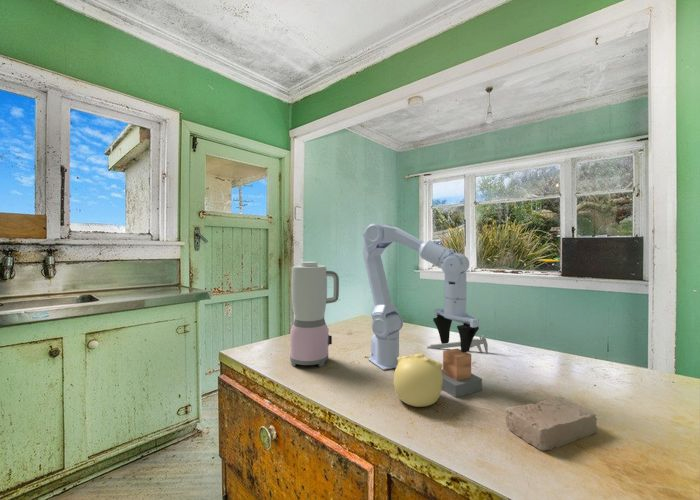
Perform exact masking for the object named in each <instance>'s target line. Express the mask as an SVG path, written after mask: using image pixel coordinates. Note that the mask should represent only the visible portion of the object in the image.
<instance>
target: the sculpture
mask: <svg viewBox="0 0 700 500" xmlns="http://www.w3.org/2000/svg"><path fill="white" fill-rule="evenodd" d="M397 361H398V365H397V367H396V368H395V369H394V373H393V378H392V379H393V381H392V382H393V387H394V392H395V394H396V396H397V397H398V399H400V401H402V402H403V403H404V404H407V405H409V406H411V407H416V408H419V407H420V408H421V407H422V408H423V407H428V406H431V405H433V404H435V403H436V402H437V401H438V399H439V398H440V396H441V393H442V383H443V377H442V369H443V363H441V362H439V361H437V360H435V359H432V358H429V357H428V356H427V355H425V354H424V353H418V352H417V353H414V354H410V355H408V354H407V355H403V356H399V357H398V358H397Z"/></svg>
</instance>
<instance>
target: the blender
mask: <svg viewBox="0 0 700 500" xmlns="http://www.w3.org/2000/svg"><path fill="white" fill-rule="evenodd" d="M289 269H290V270H291V282H290V283H291V292H290V293H291V294H290V295H291V303H292V310H293V316H294V321H293V324H292V326H291V329H290V333H289V334H290V335H289V338H290V356H289V360H290V363H291V364H290V365H291V366H292V367H294V368H295V367H297V365H301V366H315V365H318V367H319V368H321V367H324V366H325V365H326V364H325V363H326V361H327V360H328V359H329V346H330V345H332V343H333V341H332V339H333V336H332V335H330V334H329V331H330V329H329V327H328V325H327V323H326V320H325V314H326V313H325V312H326V308H327V304H331V303H332V304H333V303H336V302H337V301H338V300H339V294H340V279H339V275H338V274H337V272H335V271H333V270H332V271H331V270H327V267H326V265H320V264H319V265H318V261H302V262H301V263H300V265H294V266H290V267H289ZM328 277H331V278H333V296H332V297H328Z"/></svg>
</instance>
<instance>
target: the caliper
mask: <svg viewBox="0 0 700 500" xmlns="http://www.w3.org/2000/svg"><path fill="white" fill-rule="evenodd" d="M478 337H479V338H473V340H472V343H471V346H470V349H472V348H474V347H476V348H477V350H478V351H479V353H481V354H482V353H483V350H482V347H481V345H483V348H484V351H485V354H488V352H489V350H488V347H489V346H488V341H487V338H486V337H484V335H483V334H482V335H479V336H478ZM458 347H460V348H461V343H460V341H451V342H449V343H445V344H442V343H441V342H440V343H434V344H430V345H428V346H426V349H432V350H438V349H447V348H448V349H449V348H458Z"/></svg>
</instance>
